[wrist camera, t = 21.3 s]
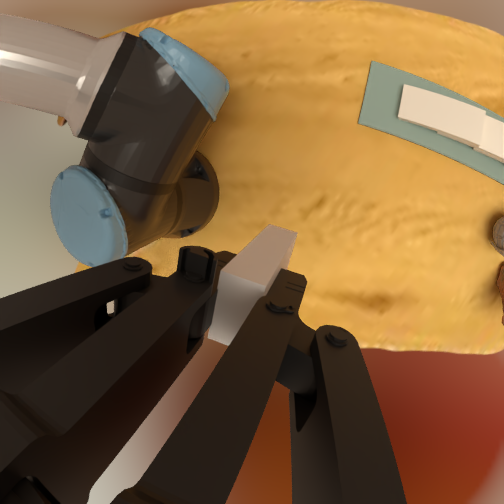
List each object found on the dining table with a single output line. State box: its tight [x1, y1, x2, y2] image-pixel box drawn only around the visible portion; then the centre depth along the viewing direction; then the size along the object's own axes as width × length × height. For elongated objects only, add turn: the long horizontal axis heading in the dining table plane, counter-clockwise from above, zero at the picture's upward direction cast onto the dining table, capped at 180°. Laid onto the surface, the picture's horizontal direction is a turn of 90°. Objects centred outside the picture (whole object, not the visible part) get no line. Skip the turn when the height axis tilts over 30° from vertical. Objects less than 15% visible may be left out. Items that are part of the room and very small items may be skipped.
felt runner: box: [358, 61, 504, 185], centre depth 33 cm, size 32×10×1 cm, turn 77°
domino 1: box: [398, 84, 486, 147], centre depth 31 cm, size 2×5×12 cm
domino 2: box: [437, 115, 504, 161], centre depth 30 cm, size 2×5×12 cm
